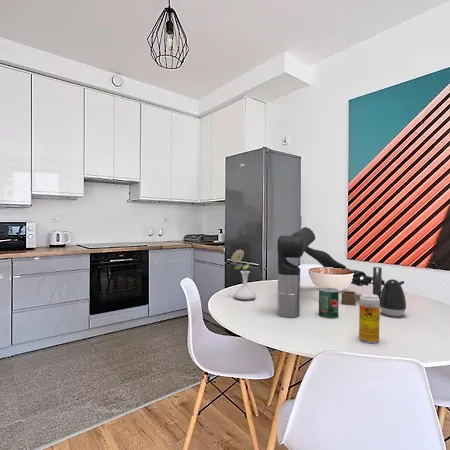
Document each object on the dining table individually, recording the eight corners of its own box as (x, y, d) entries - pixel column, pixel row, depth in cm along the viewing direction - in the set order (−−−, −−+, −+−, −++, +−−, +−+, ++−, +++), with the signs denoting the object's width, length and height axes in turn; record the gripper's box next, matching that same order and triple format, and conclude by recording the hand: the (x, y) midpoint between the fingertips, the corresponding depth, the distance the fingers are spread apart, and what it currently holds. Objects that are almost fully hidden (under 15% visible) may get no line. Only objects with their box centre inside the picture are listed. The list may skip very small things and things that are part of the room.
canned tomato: (338, 319, 126) (338, 292, 126) (318, 317, 129) (318, 290, 128) (338, 314, 133) (338, 288, 133) (319, 312, 136) (319, 287, 136)
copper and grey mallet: (396, 306, 143) (397, 269, 143) (358, 303, 149) (359, 267, 148) (395, 305, 147) (395, 268, 147) (358, 301, 152) (358, 266, 152)
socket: (355, 305, 147) (355, 295, 147) (342, 304, 149) (342, 293, 149) (354, 301, 154) (354, 291, 154) (341, 300, 156) (341, 290, 156)
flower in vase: (250, 295, 166) (251, 248, 165) (259, 300, 155) (260, 250, 155) (227, 296, 162) (228, 248, 161) (235, 302, 151) (235, 250, 151)
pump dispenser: (412, 318, 129) (413, 281, 129) (389, 319, 127) (390, 281, 127) (395, 311, 139) (395, 276, 139) (373, 312, 137) (374, 277, 137)
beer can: (359, 342, 102) (360, 296, 102) (358, 336, 108) (359, 292, 108) (380, 345, 100) (380, 298, 100) (378, 338, 106) (378, 294, 106)
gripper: (343, 270, 163) (362, 275, 147) (367, 269, 165) (389, 275, 150) (343, 284, 163) (362, 291, 147) (367, 284, 166) (389, 290, 150)
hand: (376, 283), depth 148 cm, fingers open, 8 cm apart
